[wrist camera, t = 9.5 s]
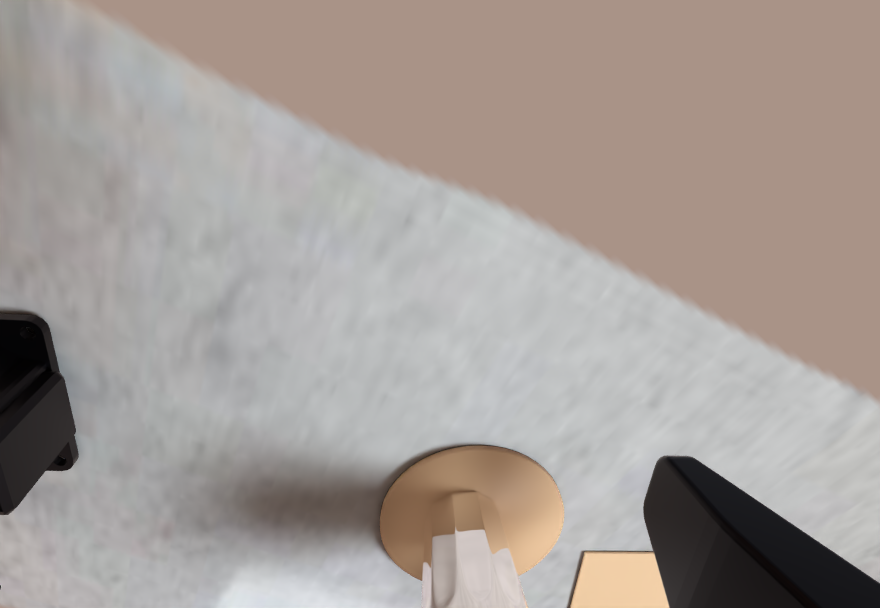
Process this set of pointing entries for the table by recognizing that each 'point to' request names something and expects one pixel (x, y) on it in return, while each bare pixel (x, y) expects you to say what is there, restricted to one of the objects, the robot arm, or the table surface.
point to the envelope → (619, 581)
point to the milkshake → (468, 556)
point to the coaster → (484, 471)
